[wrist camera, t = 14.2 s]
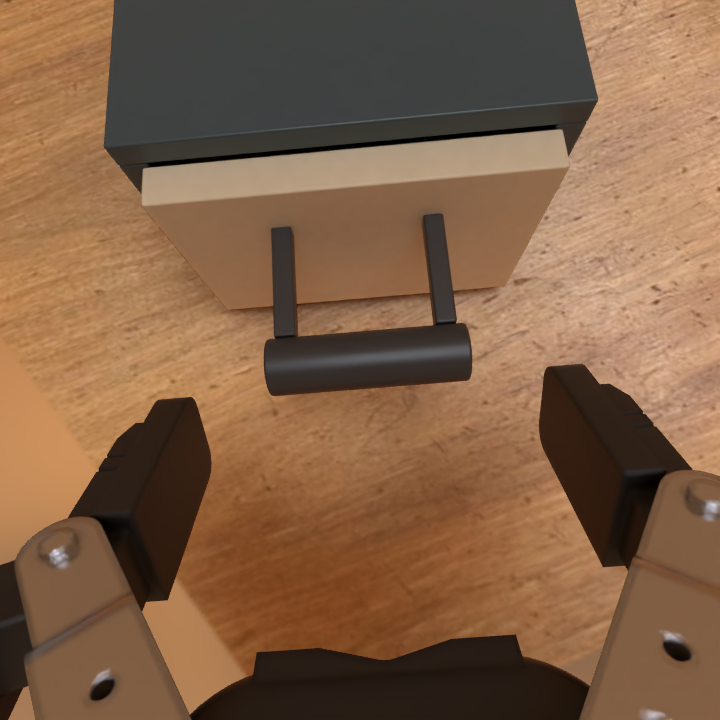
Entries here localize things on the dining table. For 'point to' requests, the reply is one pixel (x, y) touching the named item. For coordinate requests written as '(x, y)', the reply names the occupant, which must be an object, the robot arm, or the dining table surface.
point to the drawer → (360, 241)
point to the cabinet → (336, 74)
